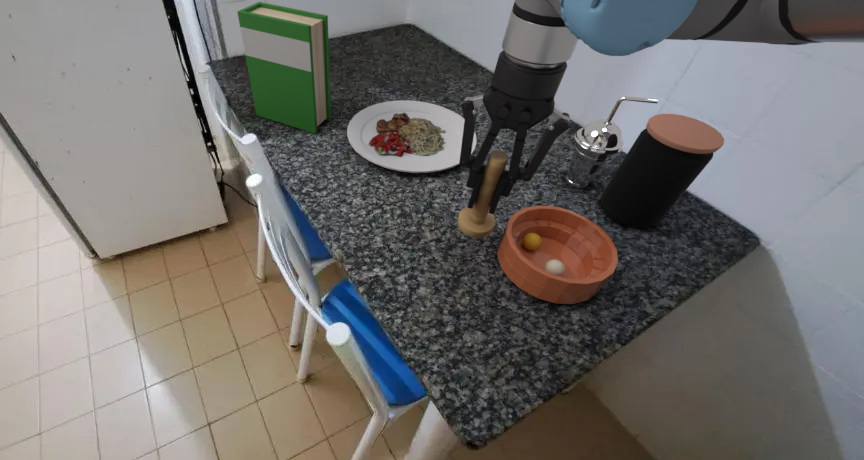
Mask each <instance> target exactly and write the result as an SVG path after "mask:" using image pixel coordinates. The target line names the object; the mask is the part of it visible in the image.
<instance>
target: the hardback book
mask: <svg viewBox="0 0 864 460" xmlns="http://www.w3.org/2000/svg"><path fill="white" fill-rule="evenodd" d="M236 13H237V17H238V24H239V28H240V29H239V30H240V34H241V39H242V46H243V49H244V55H245V61H246V67H247V71H248V76H249V82H250V87H251V94H252V99H253V104H254V109H255V115H256V116H259V117H261V118H264V119H268V120H271V121H274V122H277V123H281V124H283V125H287V126H290V127H293V128H295V129H296V128H297V129H299V130H302V131H306V132H308V133H312V134H315V135H316V134H317V133H318V127H319V126H320V125H321V124H322V123H323V122H324V121H327V122H330V121H331V120H332V107H331V103H332V102H331V77H330V75H331V74H330V45H329V17H328V15H327V14H322V13H318V12H313V11H307V10H303V9H298V8H294V7H293V8H292V7H287V6H283V5H278V4H272V3H267V2H262V1H258V2H255V3H254V4H250V5H248V6H246V7H244V8H242V9H240V10H237V12H236Z"/></svg>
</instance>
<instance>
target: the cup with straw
mask: <svg viewBox="0 0 864 460" xmlns="http://www.w3.org/2000/svg"><path fill="white" fill-rule="evenodd" d="M624 101H627V102H637V103H647V104H656V105H658V103H659V99H658V98H647V97H640V96H639V97H638V96H628V95H624V96H621V97H619V98H618V99H617V101H616V103H615V104H614V106H613V108H612V109H611V111H610V114H609V115H608V117H607V119H598V120H594V121H591V122H589V123H588V124H586V125H585V126H584V127H581V128H579V129H578V130H577V131H576V132H575V134H574V140H575V147H574V152H573V154H572V157H571V160H570V163H569V166H568V169H567V170H566V176H565V177H564V180H565V182H566V183H567V184H568V185H570V186H571V187H574V188H578V189H584V188H587V187H588V186H589V184H590V183H591V182H592V180H593V179H594V178H595V177H596V175H597V174H598V173H599V171H600V170H601V169H602V168H603V166H605V164H606V162H608V161H609V160H610V159H611V157H612V158H613V155H616V154H619V153H620V152H621V151H622V150H623V147H624V140H623V139H622V138H623V133H622V130H621V128H620V126H618V124H617V123H615V122H613V119H614V117H615V115H616V113H617V111H618V109H619V108H620V106H621V104H622V103H623V102H624Z"/></svg>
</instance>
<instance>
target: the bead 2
mask: <svg viewBox="0 0 864 460" xmlns="http://www.w3.org/2000/svg"><path fill="white" fill-rule="evenodd" d="M544 271H546V272H548V273H550V274H553V275H557V276H560V277H561V276H562V275H563V274H564V272H565V266H564V264H563V263H562V262H561V261H559V260H550V261H548V262H547V263H546V264H545V266H544Z"/></svg>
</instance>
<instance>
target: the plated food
mask: <svg viewBox="0 0 864 460" xmlns="http://www.w3.org/2000/svg"><path fill="white" fill-rule="evenodd" d="M464 122H465V119H464V116H461V114H458V113H456V112H455V111H453V110H451V109H449V108H447V107H444V106H441V105H438V104H435V103H431V102H426V101H420V100H419V101H418V100H409V99H408V100H404V99H403V100H402V99H401V100H400V99H399V100H398V99H397V100H387V101H383V102H379V103H378V102H377V103H375V104H373V105H369V106H367V107H365V108H363V109H361V110H359V111H358V112H357V113H356V114H354V115H353V117H352V118H351V119H350V120H349V122H348V126H347V127H346V130H347V131H346V132H347V133H346V134H347V135H346V137H347V140H348V143H349V145H350V146H351V147H352V149H353V150H354V151H355V152H356V153H357V154H358V155H359V156H361V157H362V158H364V159H365V160H367V161H369V162H370V163H372V164H375V165H377V166H380V167H382V168H385V169H388V170H392V171H396V172H402V173H411V174H418V173H419V174H427V173H435V172H441V171H445V170H449V169H452V168H454V167H457V166H459V165H460V163H459V162H460V154H461V146H462V138H463V130H464ZM477 144H478V143H477V134H476V132H475V131H474V137H473V144H472V151H471V155H472V154H473V153H474V152H475V149H476V146H477Z"/></svg>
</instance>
